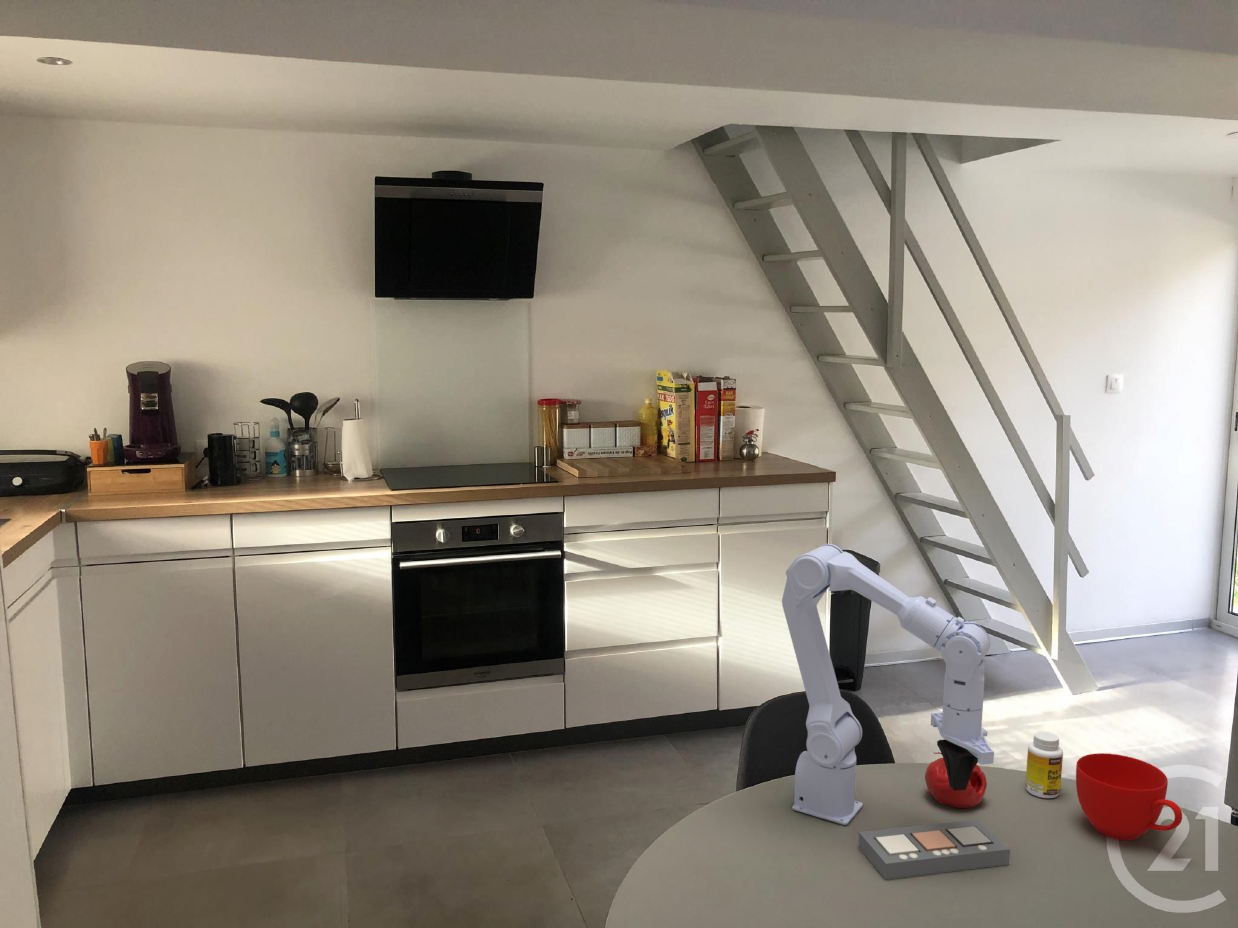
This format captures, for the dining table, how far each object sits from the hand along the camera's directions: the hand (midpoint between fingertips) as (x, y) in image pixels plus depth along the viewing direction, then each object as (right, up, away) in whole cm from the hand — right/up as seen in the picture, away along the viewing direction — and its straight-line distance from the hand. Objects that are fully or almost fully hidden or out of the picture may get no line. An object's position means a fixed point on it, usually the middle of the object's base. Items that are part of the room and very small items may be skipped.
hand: (958, 788), depth 151 cm
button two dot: (-10, -9, -3) cm, 14 cm away
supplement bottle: (+21, -7, +19) cm, 29 cm away
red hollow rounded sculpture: (+5, -7, +16) cm, 18 cm away
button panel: (-4, -10, -2) cm, 11 cm away
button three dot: (-4, -9, -2) cm, 10 cm away
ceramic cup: (+28, -9, +4) cm, 30 cm away
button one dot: (+1, -9, -1) cm, 9 cm away
